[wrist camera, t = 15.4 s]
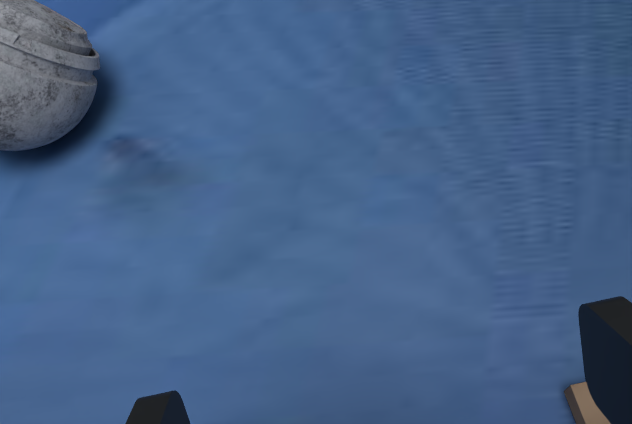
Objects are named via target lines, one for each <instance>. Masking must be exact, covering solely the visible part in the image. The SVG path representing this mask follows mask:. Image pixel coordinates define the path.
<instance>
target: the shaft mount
mask: <svg viewBox="0 0 632 424" xmlns="http://www.w3.org/2000/svg"><path fill="white" fill-rule="evenodd" d="M564 393H565V396H566V398H567V401H568V404H569V406H570V409H571V411H572V414H573V416H574V419H575V422H576V424H611V423H610V422H609V421H608V419H607V418H606V417H605V416H604V415H603V413H602V412H601V411H600V410H599V408H598V407H597V406H596V404H595V402H594V401H593V399H592V396H591V394H590V392H589V389H588V386H587V383H586V382H583V383H578V384H574V385H570V386H569V387H568V388H567V389H566V390H565V391H564Z"/></svg>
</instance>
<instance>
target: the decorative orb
mask: <svg viewBox="0 0 632 424" xmlns="http://www.w3.org/2000/svg"><path fill="white" fill-rule="evenodd" d="M99 69H100V60H99V54H98V53H97V52H96V51H95V50H94V49H93V48H92V44H91V43H90V42H89V40H88V38H87V32H86V31H85V30H84V29H83V28H82V27H80V26H79V25H77V24H76V23H74V22H73V21H71V20H69V19H67V18H66V17H64V16H62V15H60V14H58V13H57V12H55V11H53V10H51V9H50V8H48V7H46V6H44V5H42V4H40V3H38V2H36V1H34V0H0V150H2V151H20V150H28V149H33V148H37V147H40V146H44V145H47V144H49V143H51V142H54V141H56V140H57V139H59V138H61V137H62V136H64V135H65V134H67V133H68V132H69V131H71V130H72V129H73V128H74V127H75V126H76V125H77V124H78V123H79V122H80V121H81V119H82V118H83V117H84V115H85V114H86V113H87V111H88V109H89V107H90V106H91V103H92V101H93V99H94V96H95V92H96V88H97V79H96V78H95V77H94V75H93V74H92V73H93V71H94V70H99Z"/></svg>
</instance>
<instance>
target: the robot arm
mask: <svg viewBox="0 0 632 424" xmlns="http://www.w3.org/2000/svg"><path fill="white" fill-rule="evenodd" d="M579 326H580V335H581V345H582V354H583V364H584V373H585V379H586V383H587V386H588V389H589V392H590V394H591V396H592V399H593V401H594V402H595V404H596V406H597V407H598V408H599V410H600V411H601V412H602V413H603V415H604V416H605V417H606V418H607V419H608V421H609V422H610V423H611V424H632V303H631V302H630V301H628V300H627V299H626V298H624V297H621V296H619V297H614V298H610V299H605V300H600V301H596V302H591V303H586V304H582V305H581V306H580V308H579ZM126 424H190V421H189V418H188V415H187V412H186V409H185V406H184V403H183V401H182V398H181V396H180V394H179V393H178V392H177V391H170V392H165V393H161V394H156V395H151V396H147V397H142V398H139V399H137V400H136V402H135V404H134V406H133V409H132V411H131V413H130V415H129V417H128V419H127V422H126Z"/></svg>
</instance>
